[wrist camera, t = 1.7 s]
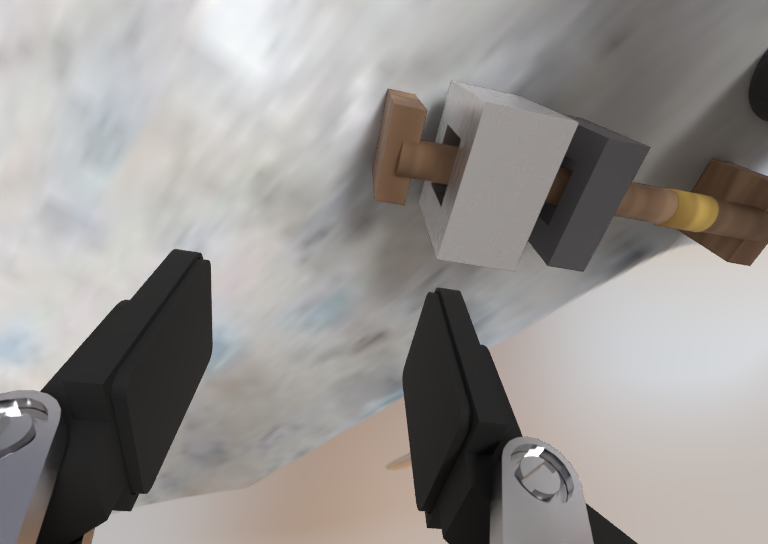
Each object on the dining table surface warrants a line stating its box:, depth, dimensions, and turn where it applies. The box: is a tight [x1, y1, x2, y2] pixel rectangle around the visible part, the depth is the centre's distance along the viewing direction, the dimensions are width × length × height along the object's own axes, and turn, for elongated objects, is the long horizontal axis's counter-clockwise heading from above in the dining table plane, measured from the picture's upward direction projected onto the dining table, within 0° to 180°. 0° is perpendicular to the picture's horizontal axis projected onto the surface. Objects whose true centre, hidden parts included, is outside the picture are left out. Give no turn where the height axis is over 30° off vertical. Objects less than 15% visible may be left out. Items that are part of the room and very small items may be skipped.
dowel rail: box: [373, 89, 768, 266], centre depth 29 cm, size 29×6×7 cm, turn 79°
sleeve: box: [419, 81, 579, 271], centre depth 26 cm, size 5×9×9 cm, turn 168°
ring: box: [528, 114, 651, 272], centre depth 27 cm, size 2×8×8 cm, turn 168°
